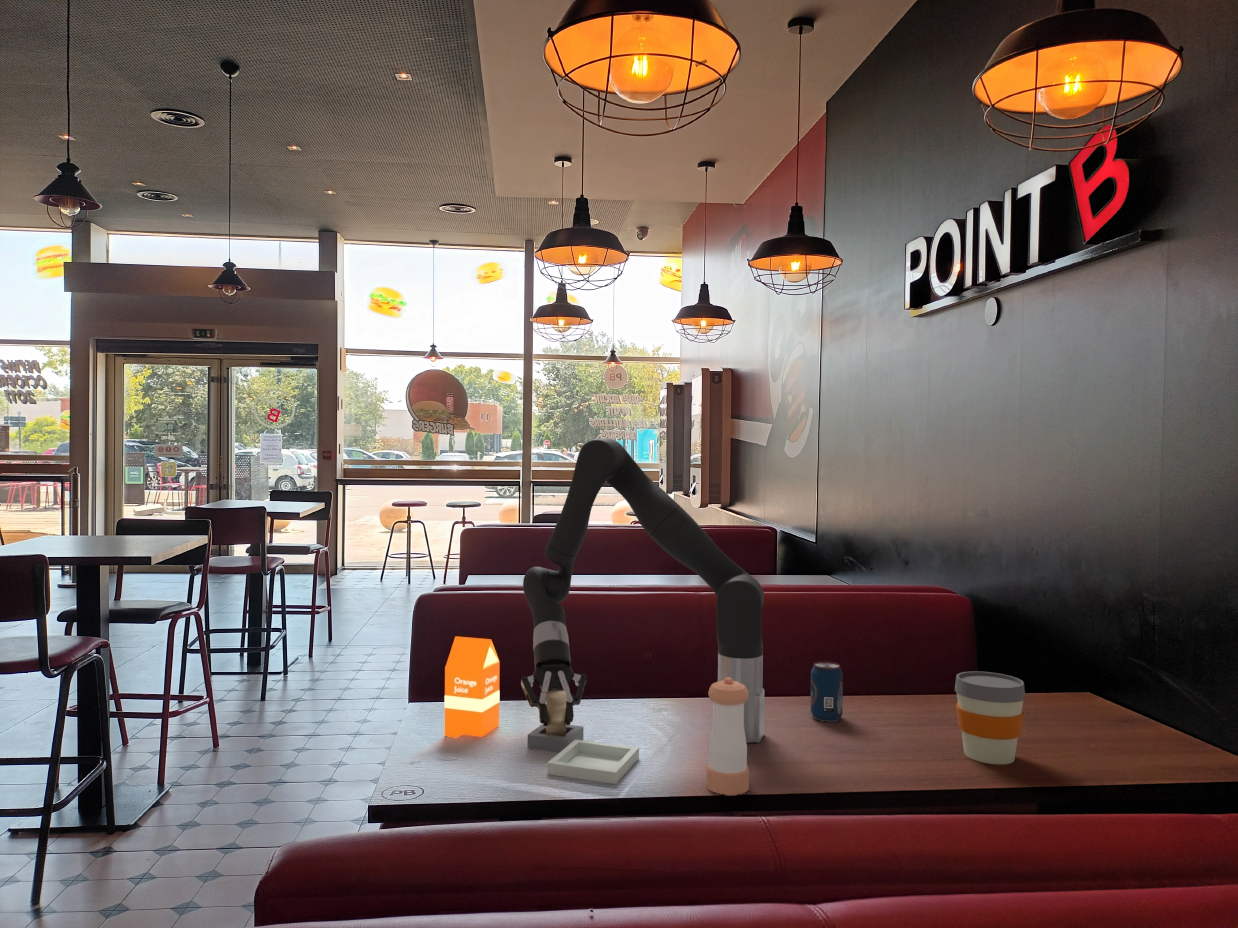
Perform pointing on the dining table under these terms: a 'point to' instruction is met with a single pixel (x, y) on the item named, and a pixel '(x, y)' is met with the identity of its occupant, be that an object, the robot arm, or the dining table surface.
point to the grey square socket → (553, 738)
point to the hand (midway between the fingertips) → (557, 723)
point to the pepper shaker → (728, 739)
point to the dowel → (556, 712)
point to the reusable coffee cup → (989, 715)
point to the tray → (593, 761)
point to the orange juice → (471, 688)
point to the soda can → (826, 691)
